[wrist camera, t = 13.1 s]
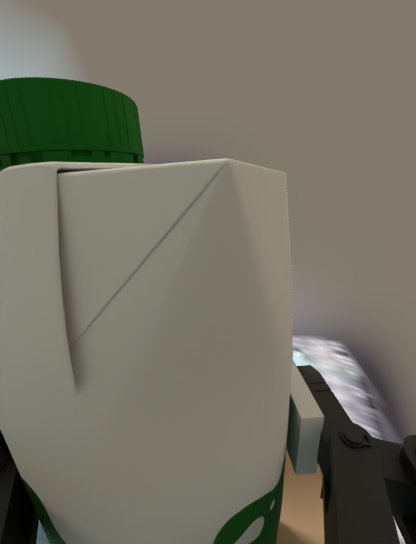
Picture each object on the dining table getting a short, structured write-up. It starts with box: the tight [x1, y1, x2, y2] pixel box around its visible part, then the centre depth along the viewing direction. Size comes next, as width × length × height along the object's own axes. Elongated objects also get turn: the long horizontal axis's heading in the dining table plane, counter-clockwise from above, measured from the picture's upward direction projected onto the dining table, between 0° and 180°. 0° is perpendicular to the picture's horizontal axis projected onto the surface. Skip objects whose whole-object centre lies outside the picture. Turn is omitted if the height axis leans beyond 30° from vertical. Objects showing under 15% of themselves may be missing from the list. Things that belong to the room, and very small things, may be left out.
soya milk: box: [0, 77, 293, 544], centre depth 10 cm, size 9×9×20 cm
